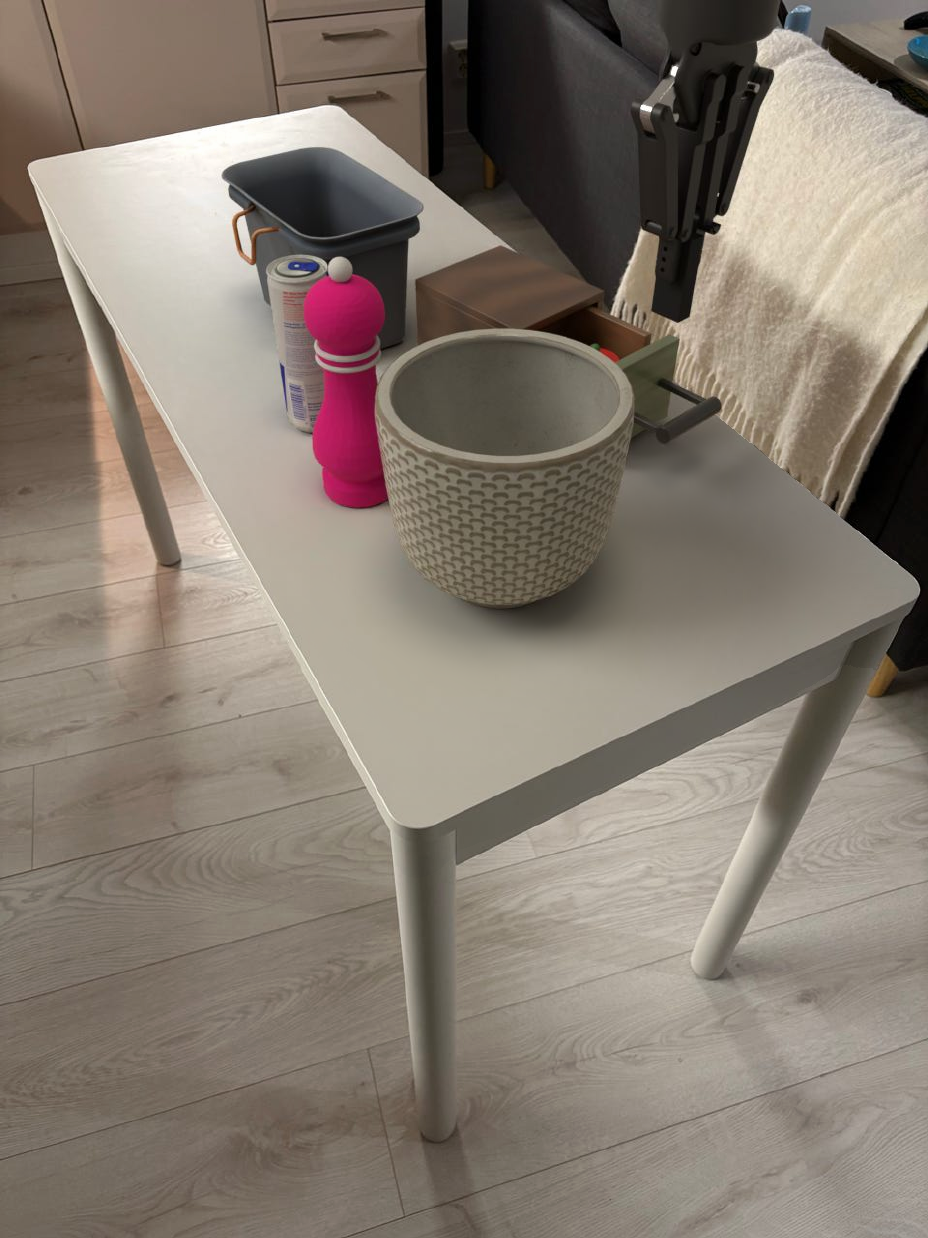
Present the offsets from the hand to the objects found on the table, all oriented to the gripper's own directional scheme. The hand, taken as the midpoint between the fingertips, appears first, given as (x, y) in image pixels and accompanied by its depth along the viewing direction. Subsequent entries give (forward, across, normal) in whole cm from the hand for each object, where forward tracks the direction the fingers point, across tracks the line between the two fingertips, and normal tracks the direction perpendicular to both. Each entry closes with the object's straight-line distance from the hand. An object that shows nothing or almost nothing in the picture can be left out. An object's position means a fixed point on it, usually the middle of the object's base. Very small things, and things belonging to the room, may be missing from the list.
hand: (670, 313), depth 77 cm
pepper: (+11, 0, -7) cm, 13 cm away
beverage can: (+14, +18, -24) cm, 34 cm away
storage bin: (+14, +7, -39) cm, 42 cm away
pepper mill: (+14, +22, -14) cm, 29 cm away
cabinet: (+14, 0, -18) cm, 23 cm away
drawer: (+12, 0, -5) cm, 13 cm away
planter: (+14, +21, +2) cm, 25 cm away
